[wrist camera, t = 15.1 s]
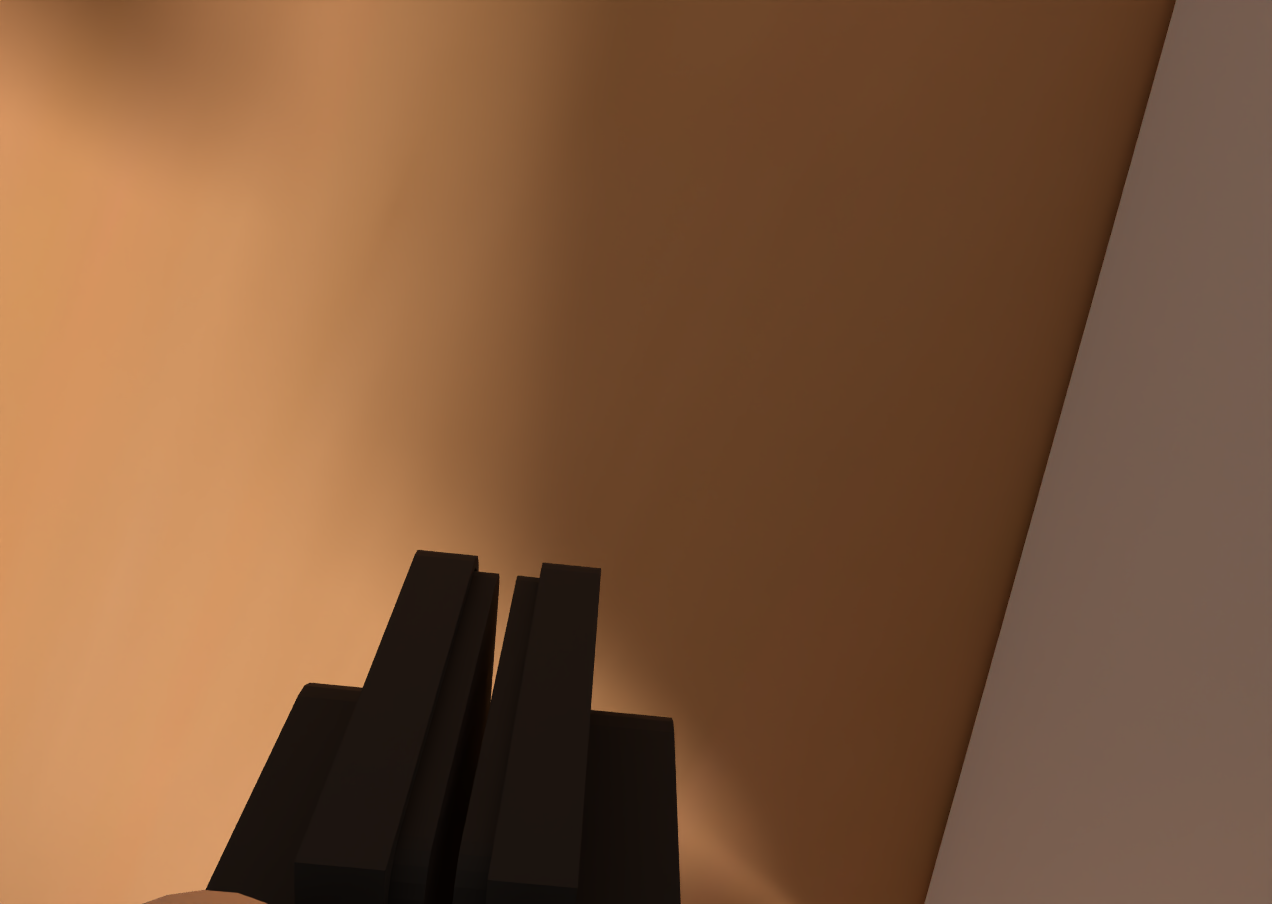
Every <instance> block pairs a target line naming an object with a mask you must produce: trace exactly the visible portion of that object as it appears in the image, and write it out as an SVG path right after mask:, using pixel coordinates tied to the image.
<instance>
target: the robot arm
mask: <svg viewBox="0 0 1272 904" xmlns="http://www.w3.org/2000/svg"><path fill="white" fill-rule="evenodd" d="M478 570H479V562H478V556H473V555H463V554H453V553H444V552H434V551H424V550H417V552H416V554H415V556H414V558H413V561H412V564H411V566H410V569H409V571H408V574H407V576H406V579H405V581H404V584H403V586H402V589H401V592H400V594H399V597H398V599H397V602H396V604H395V607H394V609H393V612H392V614H391V617H390V620H389V622H388V625H387V627H386V630H385V632H384V635H383V637H382V640H381V643H380V645H379V648H378V650H377V653H376V655H375V658H374V660H373V663H372V665H371V668H370V671H369V673H368V676H367V678H366V681H365V683H364V686H363V688H359V687H349V686H339V685H328V684H318V683H308V684H307V685H305V686H304V687H303V689H302V690H301V692H300V694H299V695H298V697H297V699H296V701H295V703H294V705H293V707H292V710H291V712H290V714H289V716H288V718H287V720H286V722H285V724H284V726H283V728H282V731H281V733H280V735H279V737H278V739H277V741H276V743H275V745H274V747H273V749H272V752H271V754H270V756H269V758H268V760H267V762H266V764H265V766H264V768H263V770H262V772H261V775H260V777H259V779H258V781H257V783H256V785H255V787H254V789H253V791H252V793H251V796H250V798H249V800H248V802H247V804H246V806H245V808H244V810H243V812H242V814H241V817H240V819H239V821H238V823H237V825H236V827H235V829H234V831H233V833H232V835H231V837H230V840H229V842H228V844H227V846H226V848H225V850H224V852H223V854H222V856H221V858H220V861H219V863H218V865H217V867H216V869H215V871H214V873H213V875H212V877H211V879H210V882H209V884H208V886H207V888H206V890H201V891H193V892H186V893H179V894H172V895H166V896H163V897H161V898H158V899H155V900H152V901H149V902H146V903H144V904H681V900H680V873H679V847H678V820H677V793H676V767H675V740H674V725H673V720H672V718H667V717H657V716H647V715H636V714H626V713H616V712H606V711H595V710H591V699H592V685H593V671H594V658H595V644H596V631H597V617H598V604H599V590H600V576H601V568H591V567H581V566H571V565H561V564H552V563H542V568H541V574H540V578H535V577H525V576H517V580H516V584H515V589H514V594H513V599H512V603H511V608H510V613H509V618H508V622H507V627H506V632H505V637H504V641H503V646H502V651H501V656H500V660H499V665H498V670H497V675H496V679H495V684H494V689H493V693H492V698H491V689H492V676H493V662H494V649H495V636H496V622H497V609H498V596H499V574H496V573H486V572H478Z"/></svg>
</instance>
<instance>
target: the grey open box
mask: <svg viewBox="0 0 1272 904" xmlns="http://www.w3.org/2000/svg"><path fill="white" fill-rule="evenodd" d="M924 904H1272V0H1176V3H1175V6H1174V10H1173V14H1172V17H1171V21H1170V24H1169V28H1168V31H1167V35H1166V39H1165V42H1164V46H1163V49H1162V53H1161V57H1160V60H1159V64H1158V67H1157V71H1156V75H1155V78H1154V82H1153V85H1152V89H1151V92H1150V96H1149V100H1148V103H1147V107H1146V110H1145V114H1144V118H1143V121H1142V125H1141V128H1140V132H1139V136H1138V139H1137V143H1136V146H1135V150H1134V153H1133V157H1132V161H1131V164H1130V168H1129V171H1128V175H1127V179H1126V182H1125V186H1124V189H1123V193H1122V197H1121V200H1120V204H1119V207H1118V211H1117V214H1116V218H1115V222H1114V225H1113V229H1112V232H1111V236H1110V240H1109V243H1108V247H1107V250H1106V254H1105V258H1104V261H1103V265H1102V268H1101V272H1100V275H1099V279H1098V283H1097V286H1096V290H1095V293H1094V297H1093V301H1092V304H1091V308H1090V311H1089V315H1088V319H1087V322H1086V326H1085V329H1084V333H1083V336H1082V340H1081V344H1080V347H1079V351H1078V354H1077V358H1076V362H1075V365H1074V369H1073V372H1072V376H1071V380H1070V383H1069V387H1068V390H1067V394H1066V397H1065V401H1064V405H1063V408H1062V412H1061V415H1060V419H1059V423H1058V426H1057V430H1056V433H1055V437H1054V441H1053V444H1052V448H1051V451H1050V455H1049V458H1048V462H1047V466H1046V469H1045V473H1044V476H1043V480H1042V484H1041V487H1040V491H1039V494H1038V498H1037V502H1036V505H1035V509H1034V512H1033V516H1032V519H1031V523H1030V527H1029V530H1028V534H1027V537H1026V541H1025V545H1024V548H1023V552H1022V555H1021V559H1020V563H1019V566H1018V570H1017V573H1016V577H1015V580H1014V584H1013V588H1012V591H1011V595H1010V598H1009V602H1008V606H1007V609H1006V613H1005V616H1004V620H1003V624H1002V627H1001V631H1000V634H999V638H998V641H997V645H996V649H995V652H994V656H993V659H992V663H991V667H990V670H989V674H988V677H987V681H986V685H985V688H984V692H983V695H982V699H981V702H980V706H979V710H978V713H977V717H976V720H975V724H974V728H973V731H972V735H971V738H970V742H969V746H968V749H967V753H966V756H965V760H964V763H963V767H962V771H961V774H960V778H959V781H958V785H957V789H956V792H955V796H954V799H953V803H952V807H951V810H950V814H949V817H948V821H947V824H946V828H945V832H944V835H943V839H942V842H941V846H940V850H939V853H938V857H937V860H936V864H935V868H934V871H933V875H932V878H931V882H930V885H929V889H928V893H927V896H926V900H925V903H924Z"/></svg>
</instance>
